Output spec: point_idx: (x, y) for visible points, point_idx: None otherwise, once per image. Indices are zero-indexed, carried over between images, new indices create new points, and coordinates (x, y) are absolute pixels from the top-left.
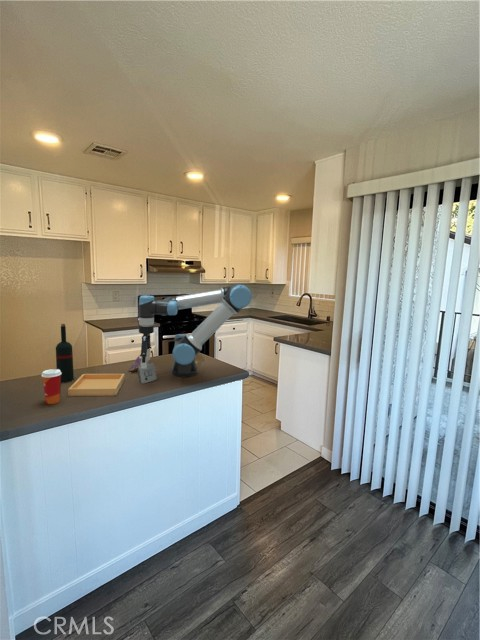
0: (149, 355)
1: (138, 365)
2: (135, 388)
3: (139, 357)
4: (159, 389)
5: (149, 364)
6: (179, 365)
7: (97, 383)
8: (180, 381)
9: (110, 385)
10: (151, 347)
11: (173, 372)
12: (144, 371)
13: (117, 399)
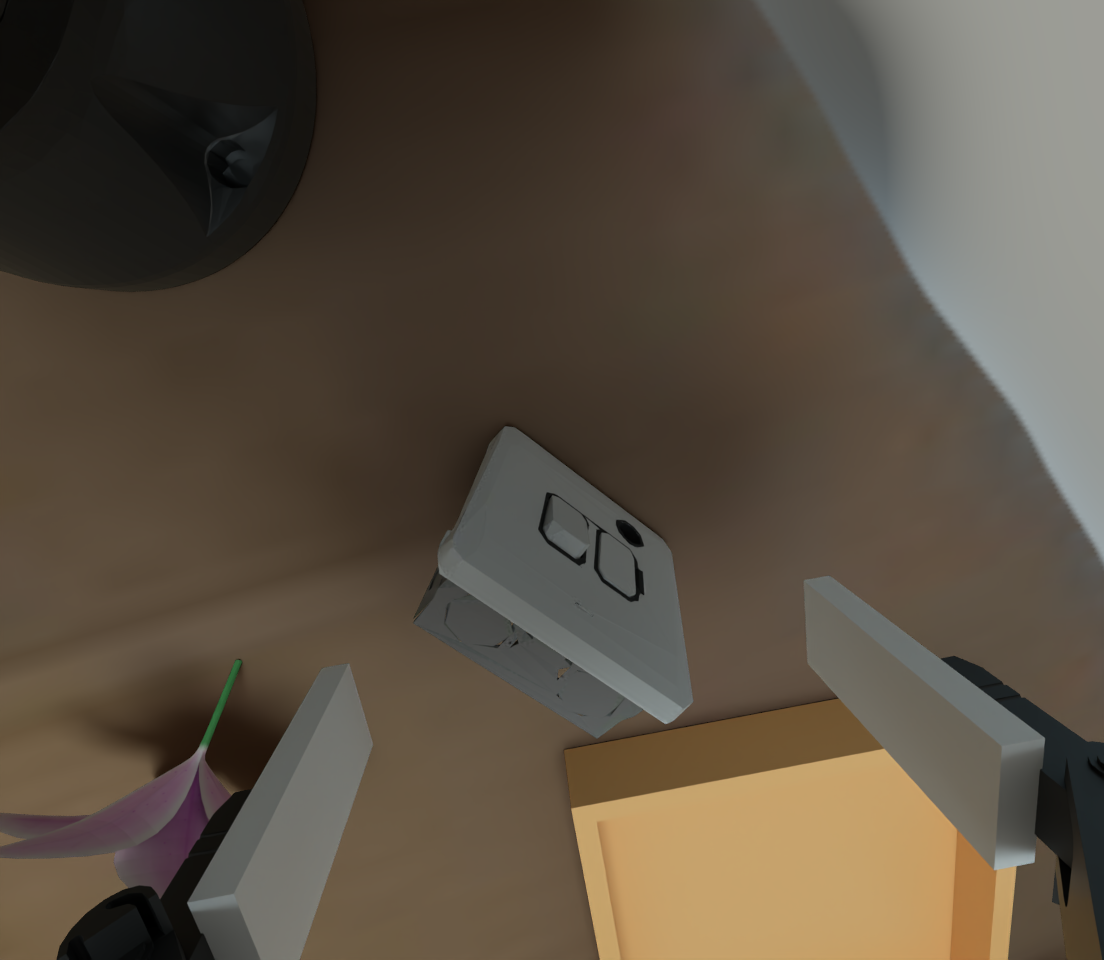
0: (314, 746)
1: (212, 778)
2: (793, 571)
3: (130, 881)
4: (821, 302)
5: (539, 603)
6: (178, 36)
7: (733, 914)
8: (515, 58)
9: (780, 804)
10: (92, 924)
11: (251, 223)
12: (637, 603)
13: (1050, 630)
